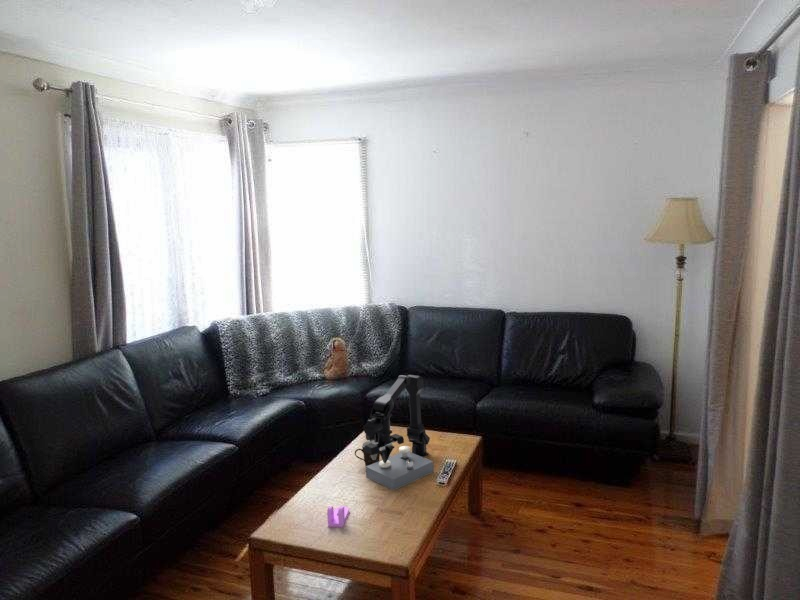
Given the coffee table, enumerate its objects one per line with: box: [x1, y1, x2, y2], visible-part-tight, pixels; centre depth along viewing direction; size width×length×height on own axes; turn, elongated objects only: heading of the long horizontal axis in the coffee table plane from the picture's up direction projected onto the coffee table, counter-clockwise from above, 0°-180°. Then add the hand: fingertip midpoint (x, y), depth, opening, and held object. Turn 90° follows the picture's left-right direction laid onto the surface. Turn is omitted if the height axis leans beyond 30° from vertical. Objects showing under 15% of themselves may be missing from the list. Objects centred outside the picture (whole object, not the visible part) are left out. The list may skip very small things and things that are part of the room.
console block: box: [365, 451, 434, 492], centre depth 259 cm, size 24×18×5 cm
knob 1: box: [379, 459, 391, 469], centre depth 257 cm, size 5×5×4 cm
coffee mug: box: [354, 440, 381, 467], centre depth 270 cm, size 12×9×10 cm
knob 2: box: [398, 445, 411, 458], centre depth 264 cm, size 5×5×4 cm
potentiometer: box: [406, 458, 413, 470], centre depth 253 cm, size 3×3×5 cm
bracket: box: [326, 505, 350, 528], centre depth 224 cm, size 13×6×7 cm, turn 172°
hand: (384, 462), depth 256 cm, fingers closed, pressing on knob 1
